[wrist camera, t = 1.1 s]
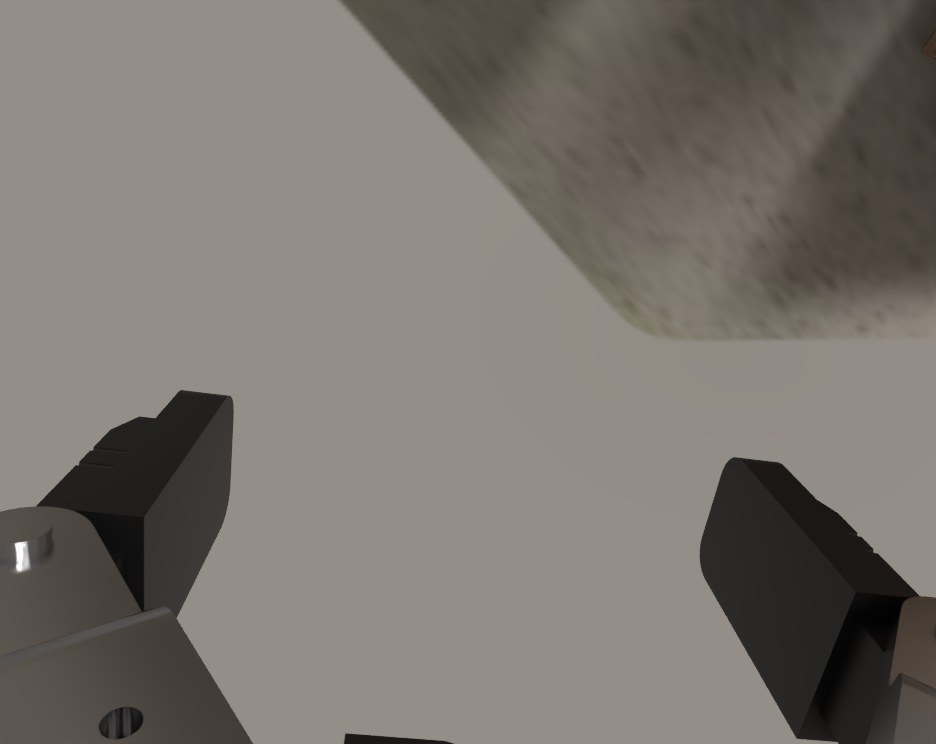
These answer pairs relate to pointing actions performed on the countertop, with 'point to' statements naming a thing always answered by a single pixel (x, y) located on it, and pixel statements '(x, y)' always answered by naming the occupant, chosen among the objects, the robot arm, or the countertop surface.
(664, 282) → the countertop surface
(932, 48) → the block
